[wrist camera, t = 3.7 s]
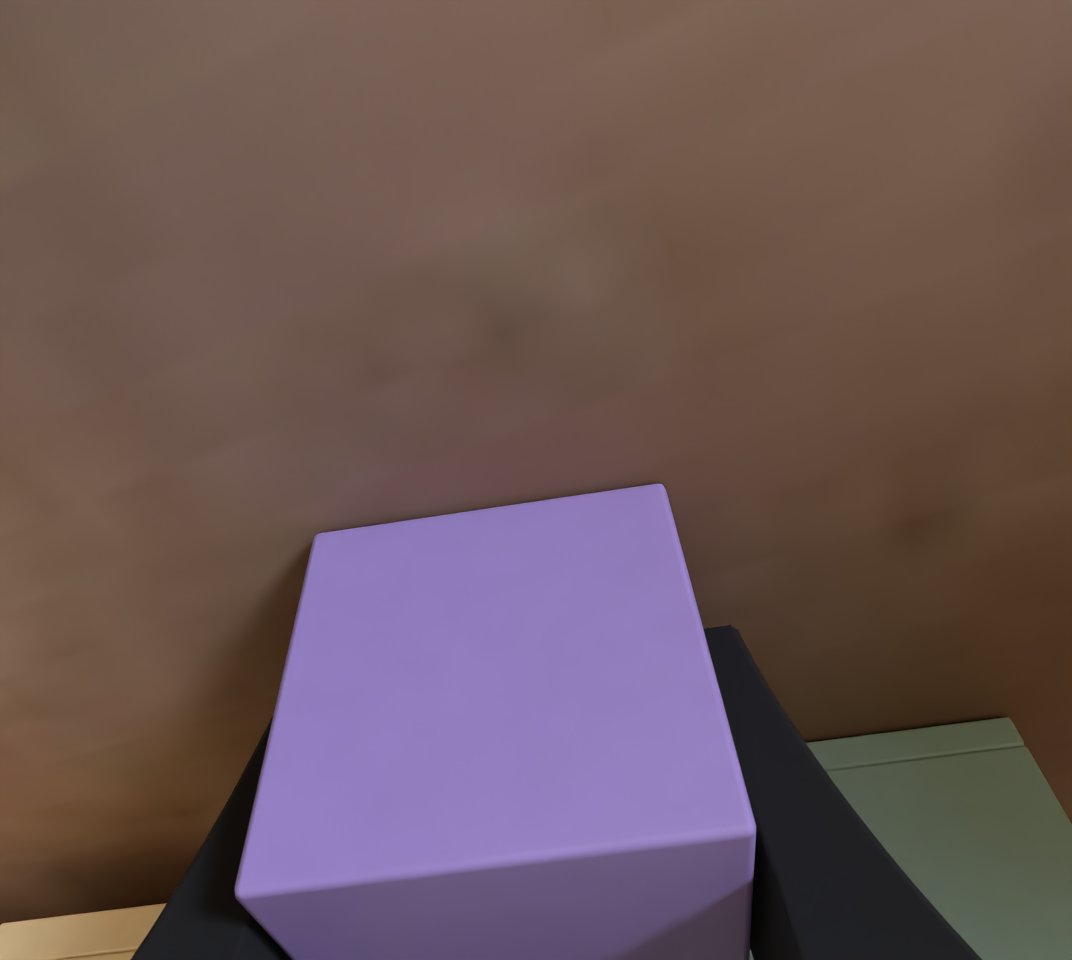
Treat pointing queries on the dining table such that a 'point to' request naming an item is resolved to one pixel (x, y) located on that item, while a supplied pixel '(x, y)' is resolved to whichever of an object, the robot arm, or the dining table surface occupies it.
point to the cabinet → (967, 830)
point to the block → (502, 747)
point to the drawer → (79, 935)
